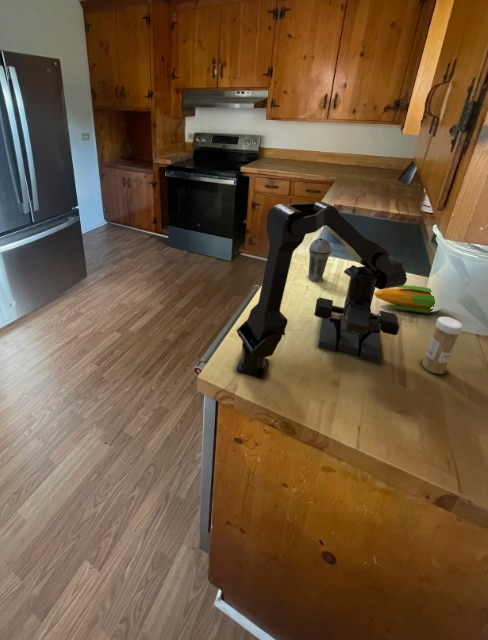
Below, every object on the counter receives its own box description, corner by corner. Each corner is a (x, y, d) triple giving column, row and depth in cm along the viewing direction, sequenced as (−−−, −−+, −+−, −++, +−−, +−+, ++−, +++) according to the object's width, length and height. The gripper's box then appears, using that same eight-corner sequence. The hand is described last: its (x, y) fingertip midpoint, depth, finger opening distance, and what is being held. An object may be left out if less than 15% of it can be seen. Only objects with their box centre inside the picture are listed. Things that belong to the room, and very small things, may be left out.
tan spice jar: (445, 377, 77) (464, 330, 72) (421, 369, 79) (438, 323, 74) (444, 365, 80) (462, 320, 75) (421, 358, 83) (437, 313, 77)
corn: (456, 296, 95) (380, 287, 99) (449, 319, 97) (375, 310, 102) (444, 285, 102) (373, 277, 106) (437, 307, 104) (369, 298, 109)
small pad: (357, 355, 83) (359, 348, 82) (338, 349, 85) (339, 343, 84) (356, 340, 88) (358, 334, 87) (338, 336, 90) (340, 330, 89)
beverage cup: (300, 275, 123) (308, 224, 115) (316, 272, 125) (325, 223, 117) (312, 284, 116) (322, 232, 109) (329, 281, 118) (340, 229, 111)
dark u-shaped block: (378, 363, 81) (380, 357, 80) (318, 347, 86) (319, 340, 85) (373, 322, 96) (375, 317, 95) (322, 311, 101) (323, 305, 101)
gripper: (317, 297, 77) (307, 351, 83) (410, 318, 70) (392, 374, 76) (320, 277, 86) (311, 326, 92) (403, 293, 79) (387, 345, 85)
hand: (348, 342), depth 86 cm, fingers closed on small pad, 4 cm apart
